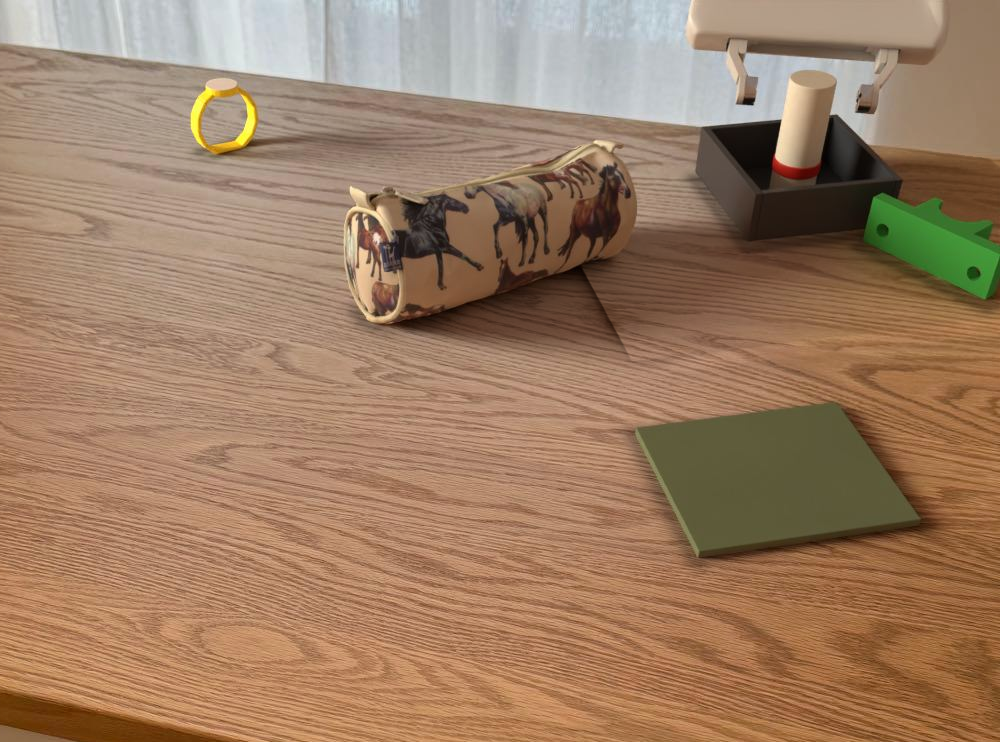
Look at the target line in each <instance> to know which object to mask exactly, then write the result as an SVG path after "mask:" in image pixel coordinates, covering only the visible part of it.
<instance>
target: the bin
mask: <svg viewBox="0 0 1000 742" xmlns="http://www.w3.org/2000/svg"><path fill="white" fill-rule="evenodd" d="M781 121H782V118H781V119H769V120H762V121H761V120H759V121H749V122H739V123H727V124H717V125H716V124H715V125H704V126H701V127H700V135H699V142H698V148H697V155H696V156H697V157H696V164H695V174H696V175H697V177H698V178H699V179H700V180H701V182H702V183H703V184H704V186H705V187H706V188H707V190H708V191H709V192H710V193H711V195H712V196H713V198H714V199H715V200H716V202H717V203H718V204H719V206H720V207H721V209H723V211H724V213H726V215H727V216H728V218H729V219H730V220H731V222H732V223H733V225H734V226H735V227H736V229H738V230H739V232H740V233H741V235H742V236H743V237H744V239H745V240H746V241H747V242H756V241H757V242H758V241H766V240H767V241H768V240H777V239H784V238H785V239H786V238H795V237H804V236H805V237H806V236H814V235H822V234H832V233H841V232H851V231H860V230H865V229H866V225H867V221H868V217H869V213H870V209H871V205H872V201H873V197H875V196H877V195H879V194H881V193H884V194H886V195H888V196H891V197H893V198H895V199H897V200H899V197H900V193H901V188H902V185H903V181H904V179H903V178H902V177H901V176H900V175H899V174H898V173H897V172H896V171H895V170H894V169H893V168H892V167H891V166H890V165H889V164H888V163H887V162H886V161H885V160H884V159H883V158H882V157H881V156H880V155H879V154H878V153H877V152H876V151H875V150H873V148H872V147H871V146H870V145H869V144H868V143H867V142H866V141H865V140H864V139H863V138H861V136H860V135H859V134H857V132H856V131H854V130H853V129H852V128H851V126H849V125H848V123H847V122H845V120H844V119H842V118H841V116H840V115H838V114H830V117H829V122H828V127H827V131H826V136H825V141H824V146H823V150H822V155H821V166H820V170H819V173H818V175H817V178H816V183H815V185H809V186H799V187H789V188H779V189H769V186H770V181H771V175H772V170H773V169H772V163H773V158H774V154H775V153H776V148H777V143H778V138H779V132H780V127H781ZM885 227H886V228H888V227H887V226H886V225H885Z"/></svg>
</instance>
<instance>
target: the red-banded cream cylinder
mask: <svg viewBox="0 0 1000 742" xmlns="http://www.w3.org/2000/svg"><path fill="white" fill-rule="evenodd" d="M837 84H838V81H837V79H836V77H835V76H834V75H832V74H830V73H828V72H825V71H821V70H815V69H802V70H798V71H794V72H792V73H791V74H790V75H789V78H788V84H787V90H786V95H785V101H784V106H783V111H782V116H781V119H782V121H781V127H780V132H779V138H778V143H777V148H776V153H775V154H774V158H773V163H772V169H773V170H772V175H771V181H770V186H769V189H779V188H789V187H799V186H809V185H815V183H816V178H817V175H818V173H819V170H820V166H821V155H822V150H823V146H824V141H825V136H826V131H827V127H828V122H829V117H830V115H831V113H832V108H833V102H834V99H835V94H836V89H837Z"/></svg>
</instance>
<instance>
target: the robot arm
mask: <svg viewBox="0 0 1000 742" xmlns="http://www.w3.org/2000/svg"><path fill="white" fill-rule="evenodd" d="M687 14H688V15H687V20H686V21H687V22H686V26H685V27H686V28H685V36H684V37H685V39H686V41H687V42H688V44H689V46H690V47H691V48H692V49H693V50H697V51H706V52H707V51H708V52H721V53H722V52H723V53H726V62H725V65H726V67H727V69H728V71H729V73H730V76H731V77H732V80H733V81H734V83H735V85H737V86H736V95H735V106H736V105H738V106H755V102H756V99H757V92H758V91H757V87H758V83H759V76H752V75H751V76H750V75H749V74H748V71H747V69H746V67H745V65H744V63H745V59H746V56H747V55H746V54H751V55H752V54H753V55H765V56H781V57H794V58H795V57H796V58H808V59H809V58H810V59H811V58H812V59H827V60H842V61H857V62H870V63H871V62H872V63H874V65H873V74H874V75H877V77H876V78H875V79H874V80H873V83H871V84H865V83H861V84H860V86H859V89H858V90H857V92H856V97H855V102H856V104H855V107H854V114H864V115H875V113H876V111H877V109H878V105H879V100H880V91H881V90H882V88H883V87H884V86H885V84H887V81H888V80H889V79H890V77H891V76H892V74H893V73H894V71H895V69H896V67H897V65H898V64H899V65H915V66H927V65H929V64H930V63H931V62H932V61H934V59H936V57H938V55H940V53H941V52H942V50H943V49H944V47H945V45H946V43H947V40H948V36H949V30H950V21H951V20H950V17H951V0H690V4H689V10H688V13H687Z"/></svg>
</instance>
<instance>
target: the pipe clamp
mask: <svg viewBox="0 0 1000 742" xmlns="http://www.w3.org/2000/svg"><path fill="white" fill-rule="evenodd" d="M943 204H944V200H943V199H940V198H938V197H933V198H931V199H928V200H927V201H925V202H923V203H920V204H918V205H916V206H913V205H910V204H908V203H906V202H904V201H902V200H900V199H898V200H897V199H895V198H893V197H891V196H888V195H886V194H884V193H881V194H879V195H877V196H875V197H873V201H872V205H871V209H870V213H869V217H868V221H867V225H866V229H864V233H863V237H862V241H863V242H865V243H866V244H869V245H870V246H873V247H874V248H875V247H876V248H877V249H879V250H881V251H883V252H885V253H887V254H890V255H891V256H894V257H895V258H897V259H900V260H901V261H903V262H906V263H908V264H910V265H912V266H914V267H917V268H919V269H921V270H923V271H925V272H927V273H928V274H931V275H933V276H935V277H937V278H940V279H941V280H943V281H945V282H947V283H949V284H952V285H954V286H956V287H958V288H960V289H962V290H963V291H966V292H969V293H970V294H972V295H975V296H976V297H978V298H980V299H983V300H985V301H986V300H988V299H989V298H991V297H993V296H995V293H996V290H997V288H998V284H999V281H1000V245H999V244H997V243H995V242H993V241H991V240H990V237H991V235H992V231H993V228H994V225H995V222H992V221H990V220H989V219H983V220H979V221H964V220H959V219H955V218H952V217H950V216H948V215H946V214H945V213H943V212H942V211H941V210H942V207H943ZM885 225H886V226H887V227H885ZM887 229H888V230H887ZM977 270H979V272H980V274H979V273H978V272H977Z"/></svg>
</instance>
